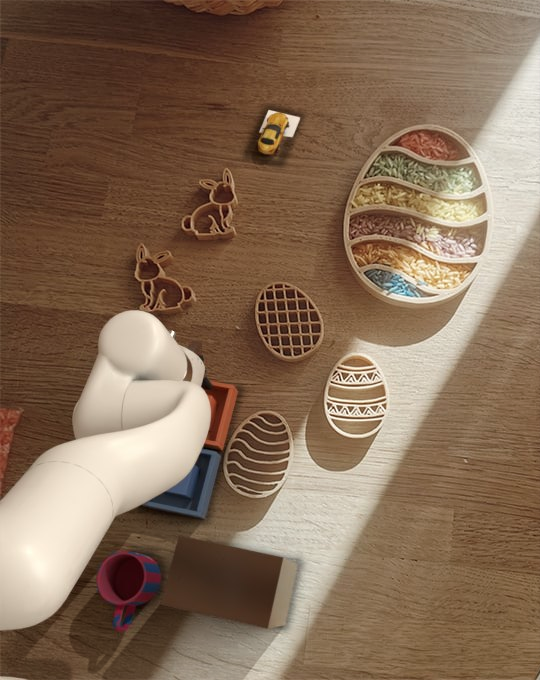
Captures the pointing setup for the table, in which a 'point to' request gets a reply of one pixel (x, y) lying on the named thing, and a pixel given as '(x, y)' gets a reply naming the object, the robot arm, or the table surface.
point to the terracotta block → (212, 410)
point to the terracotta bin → (221, 414)
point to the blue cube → (186, 485)
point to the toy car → (276, 131)
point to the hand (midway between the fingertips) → (195, 409)
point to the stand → (230, 583)
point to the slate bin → (203, 491)
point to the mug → (127, 583)
